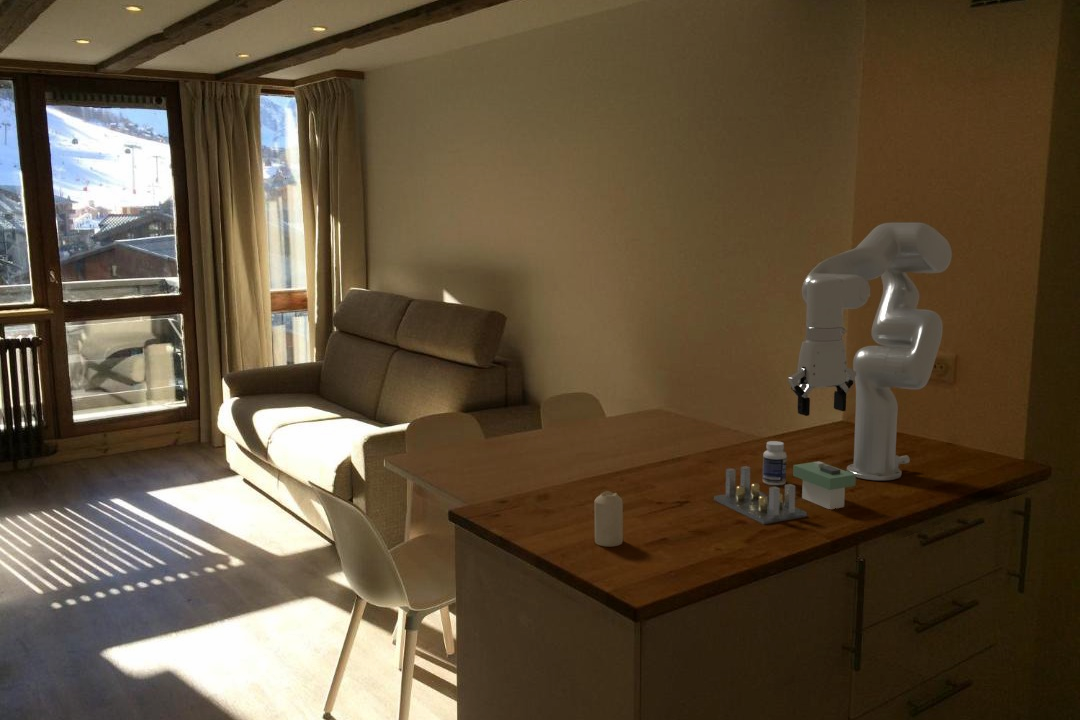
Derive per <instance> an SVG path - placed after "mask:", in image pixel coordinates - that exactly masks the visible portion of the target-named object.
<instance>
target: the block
mask: <svg viewBox="0 0 1080 720" xmlns="http://www.w3.org/2000/svg"><path fill="white" fill-rule="evenodd" d="M801 488H802V490H801V491H802V493H801V498H802V499H803V500H806V501H808V502H811V503H812V504H815V505H818V506H820V507H823V508H826V509H827V510H829V509H830V510H834V509H835V508H836V509H840V508H845V495H846V493H845V492H846V490H845V489H846V487H845V488H839V489H833V490H828V489H826V488H823V487H820V486H818V485H815V484H813V483H810V482H808V481H805V480H802V487H801ZM836 509H835V510H836Z"/></svg>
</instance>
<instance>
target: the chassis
mask: <svg viewBox="0 0 1080 720" xmlns="http://www.w3.org/2000/svg"><path fill="white" fill-rule="evenodd" d="M780 491H781V489H780V487H778V486H770V487H769V489H768V494H766V493H764V492H762V491H760V483H755V482H754V483H753V482H752V483H751V467H749V466H747V465H745V466H741V467H740V484H739V485H736V469H734V468H726V469H725V493H724V494H718V495H714V496H713V501H715V502H717V503H718V504H721V505H723V506H725V507H727V508H728V509H731V510H733V511H736V512H737V513H740V514H742V515H744V516H745V517H748V518H750V519H752V520H754V521H756V522H758V523H760V524H762V525H768V524H773V523H779V522H785V521H790V520H796V519H800V518H801V519H802V518H806V517H807V511H805V510H803V509H800V508H798V507H796V485H794V484H791V483H789V484H784V495H783V493H781V492H780ZM783 496H784V498H783ZM783 500H784V501H783Z"/></svg>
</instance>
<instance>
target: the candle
mask: <svg viewBox="0 0 1080 720" xmlns="http://www.w3.org/2000/svg"><path fill="white" fill-rule="evenodd" d="M593 502H594V503H593V504H594V506H593V507H594V511H593V512H594V542H595V544H597V545H598V546H601V547H610V548H612V547H617V546H620V545H622V544H623V541H624V539H623V535H624V532H623V529H624V527H623V525H624V524H623V523H624V519H623V516H624V515H623V511H624V510H623V507H624V506H623V502H624V501H623V499H622V497H620V496H619V495H618V493H617V492H614V493H613V492H612V491H610V490H606V491H603V492H602V493H600V495H598V496H596V498H595V499H594V501H593Z"/></svg>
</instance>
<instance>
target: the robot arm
mask: <svg viewBox="0 0 1080 720" xmlns="http://www.w3.org/2000/svg"><path fill="white" fill-rule="evenodd" d="M952 255H953V253H952V248H951V245H950V243H949V240H947V238H945V236H943V235H942V234H941V233H939V231H938V230H937V229H935V228H934V227H932V225H931V226H930V225H929V224H927V223H924V222H884V223H881V224H879V225H877V226H876V227H874V228H873V229H872V230H871V231H870V232H869V234H867V235H866V237H864V238H863V240H862V241H860V243H858V245H856V247H855V248H853V249H849V250H846V251H843V252H841V253H838V254H836V255H833V256H831V257H828V258H826V259H824V260H823V261H821V262H819V263H817V264H816V266H815V267H813V268H812V269H811V271H810V272H809V273H808V274H807V275H806V277H805V279H804V281H803V283H802V287H801V296H802V299H803V301H804V302H805V303H806V315H805V316H806V318H805V319H806V323H805V340H804V341H802V342H801V346H800V350H799V355H798V363H797V371H796V372H795V373H793V374H791V375H790V376H789V377H788V378H787V380H788V384H789V385H790V388H791V391H792V392H793V393H794V394H795V396H796V397H797V414H799V415H801V416H802V415H803V416H805V417H808V416H810V407H811V399H810V397H808V396H809V395H810V393H811V392H812V391H813V389H820V388H821V389H823V388H830V387H831V388H832V387H834V389H836V390H835V391H834V392H833V408H834V409H835V410H837V411H839V412H846V411H847V394H849V392H850V388H851V387H852V386H853V385H854V383H855V419H854V443H853V444H854V445H853V463H851V464H849V465H847V467H846V471H847V472H850V473H853V474H856V478H858V479H863V480H868V481H894V480H897V479H900V478H901V476H902V473H903V471H902V470H901V469H900V468H899V466H900V465H901V464H902V465H904V464H909V463H910V457H909V455H907V454H906V455H900V456H899V455H897V453H896V451H897V449H896V447H897V446H896V445H897V427H898V412H899V411H898V410H899V409H898V408H899V407H898V406H899V405H898V401H897V398H896V396H895V394H894V393H893V391H892V390H891V388H897V389H905V390H921V389H923V388H924V387H926V385H927V384H928V382H929V380H930V378H931V375H932V371H933V369H934V365H935V362H936V358H937V355H938V352H939V349H940V345H941V342H942V338H943V332H944V331H943V328H944V327H943V320H942V318H941V316H940V315H939V314H938V313H937V312H935V311H934V310H930V309H922V308H921V309H919V308H918V304H919V302H920V292H919V290H918V288H917V286H916V285H915V283H914V282H913V280H911V278H910V277H909V276H908V274H907V273H913V274H914V273H915V274H938V273H939V274H940V273H943V272H945V271H946V270H947V269H948V267H949V266H950V264H951V262H952V257H953V256H952ZM879 277H881V282H882V287H883V290H882V295H881V298H880V302H879V305H878V307H877V310H876V313H875V317H874V319H873V323H872V326H871V332H870V333H871V338H872V340H873V341H874V342H875V343H877V344H878V345H867V346H863V347H861V348H859V349H858V350H857V351H856V352H855V354H854V357H853V361H852V368H853V369H852V368H850V367H849V366H848V365H847V364H848V363H847V362H848V361H847V353H846V352H847V351H846V350H847V349H846V344H845V341H844V340H843V335H845V333H846V328H845V327H843V325H844V310H845V309H848V310H849V309H850V310H856V309H858V308H862V307H863V306H864V305H865V304H866V303H867V302H868V301H869V298H870V296H871V287H870V283H869V281H871V280H874V279H877V278H879Z"/></svg>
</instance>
